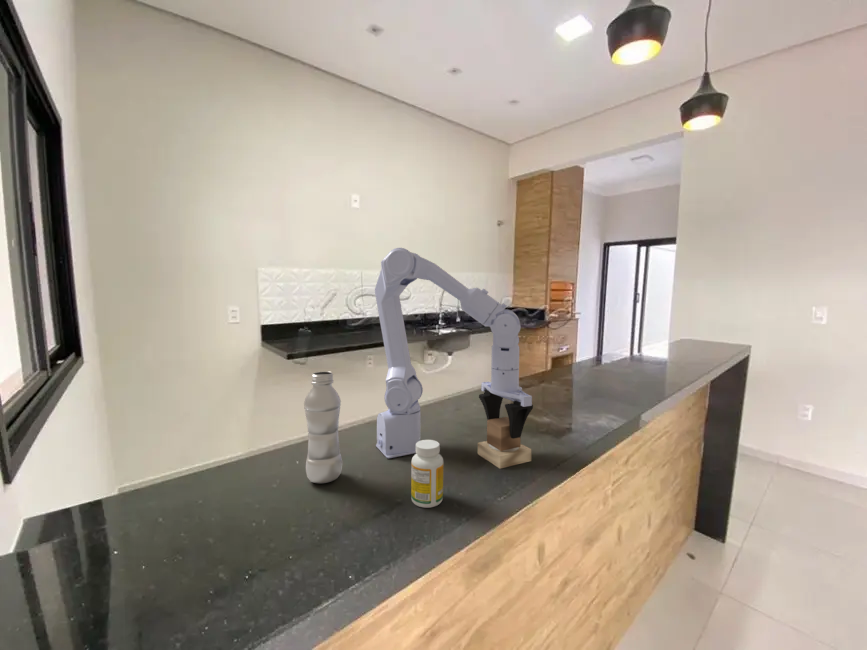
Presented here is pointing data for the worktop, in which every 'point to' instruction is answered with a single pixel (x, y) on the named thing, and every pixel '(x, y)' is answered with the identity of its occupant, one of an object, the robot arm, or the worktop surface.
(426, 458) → the supplement bottle
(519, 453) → the base block
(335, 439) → the plastic bottle
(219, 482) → the worktop surface
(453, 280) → the robot arm
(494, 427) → the walnut cube
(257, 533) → the worktop surface
